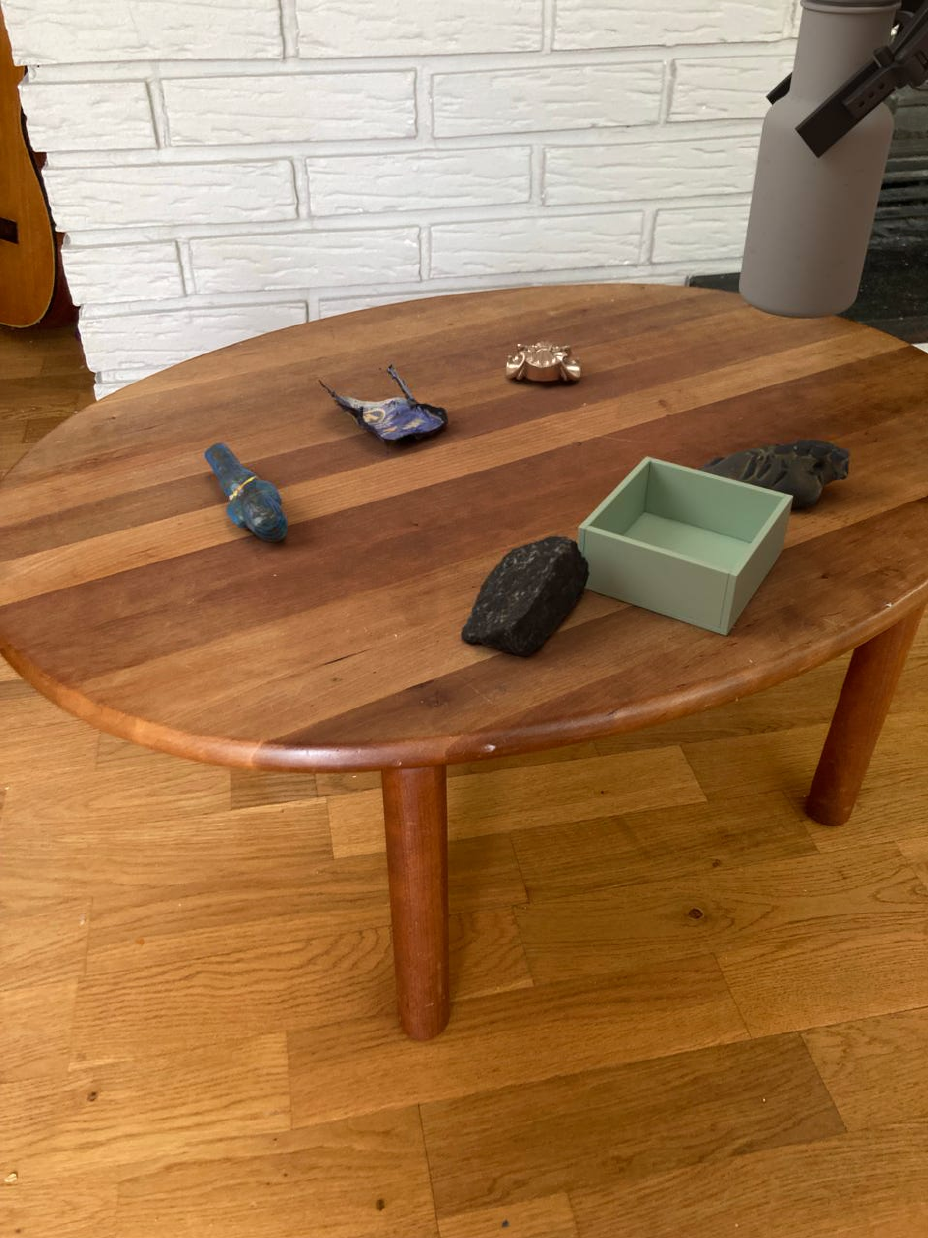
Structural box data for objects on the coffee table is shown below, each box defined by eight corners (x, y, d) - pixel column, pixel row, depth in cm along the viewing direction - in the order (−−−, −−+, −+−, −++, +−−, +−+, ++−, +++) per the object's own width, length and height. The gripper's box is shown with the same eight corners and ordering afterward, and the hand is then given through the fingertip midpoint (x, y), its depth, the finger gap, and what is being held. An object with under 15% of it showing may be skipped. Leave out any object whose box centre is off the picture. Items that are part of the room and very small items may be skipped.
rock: (448, 642, 77) (446, 578, 73) (507, 570, 84) (508, 509, 81) (535, 669, 74) (537, 605, 71) (588, 593, 82) (592, 530, 78)
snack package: (423, 392, 110) (315, 406, 107) (426, 338, 105) (312, 352, 102) (458, 461, 102) (342, 478, 99) (462, 407, 98) (340, 424, 95)
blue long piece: (202, 481, 97) (261, 566, 87) (183, 451, 94) (242, 535, 85) (246, 455, 98) (309, 536, 88) (228, 424, 95) (292, 504, 85)
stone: (685, 472, 96) (691, 420, 93) (833, 475, 95) (844, 422, 92) (691, 512, 91) (698, 458, 88) (848, 515, 90) (860, 461, 86)
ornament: (580, 363, 115) (582, 331, 112) (579, 391, 109) (581, 358, 107) (508, 361, 115) (508, 329, 113) (503, 388, 110) (503, 356, 108)
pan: (781, 553, 85) (793, 495, 82) (726, 636, 77) (737, 576, 74) (640, 511, 91) (646, 455, 87) (574, 585, 82) (578, 526, 79)
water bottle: (787, 269, 95) (853, -103, 78) (881, 300, 89) (975, -97, 72) (713, 297, 90) (766, -94, 73) (807, 332, 84) (888, -86, 67)
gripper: (975, -175, 78) (735, 60, 89) (1114, -171, 60) (793, 123, 71) (1025, -91, 81) (787, 127, 92) (1171, -63, 63) (855, 204, 74)
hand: (790, 125), depth 81 cm, fingers closed on water bottle, 10 cm apart
